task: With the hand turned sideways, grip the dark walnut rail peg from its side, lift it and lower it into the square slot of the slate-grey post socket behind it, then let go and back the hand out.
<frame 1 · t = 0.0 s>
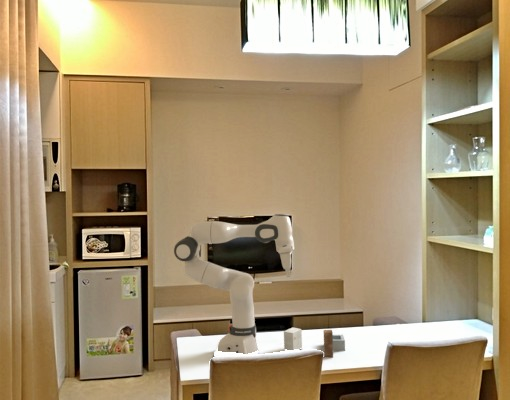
hand: (288, 274, 225), 39 cm above the table, tool pointing down, fingers open, 8 cm apart
rail peg: (328, 356, 222), on the table
post socket: (335, 347, 233), on the table
small box: (293, 351, 230), on the table
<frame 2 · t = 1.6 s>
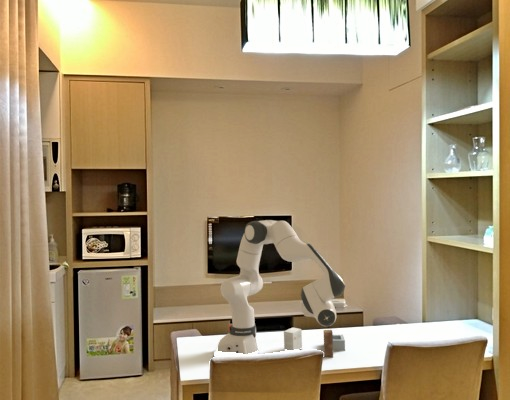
hand: (321, 301, 212), 29 cm above the table, tool horizontal, fingers open, 8 cm apart
nothing on the table moved.
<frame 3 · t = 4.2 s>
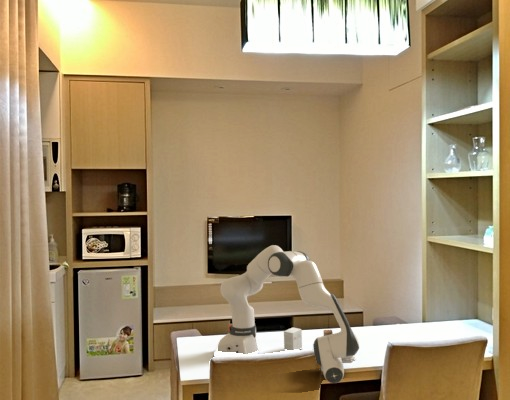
hand: (329, 349, 212), 6 cm above the table, tool horizontal, fingers open, 8 cm apart
nothing on the table moved.
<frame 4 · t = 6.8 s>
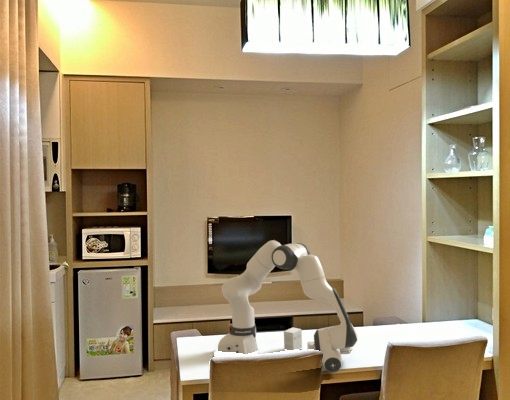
hand: (328, 341, 222), 7 cm above the table, tool horizontal, fingers closed on rail peg, 4 cm apart
rail peg: (328, 355, 222), on the table, touching gripper
everything else where it was.
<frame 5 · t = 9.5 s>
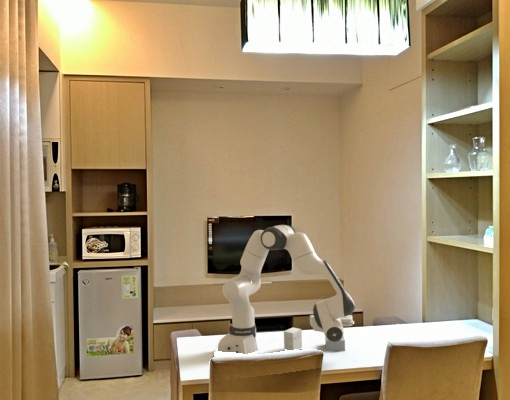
hand: (330, 315, 227), 18 cm above the table, tool horizontal, fingers closed on rail peg, 4 cm apart
rail peg: (330, 329, 226), point 11 cm above the table, touching gripper
everything else where it was.
when the fingers open (9 cm above the table, at t = 12.7 s): rail peg drops 1 cm, resting on post socket.
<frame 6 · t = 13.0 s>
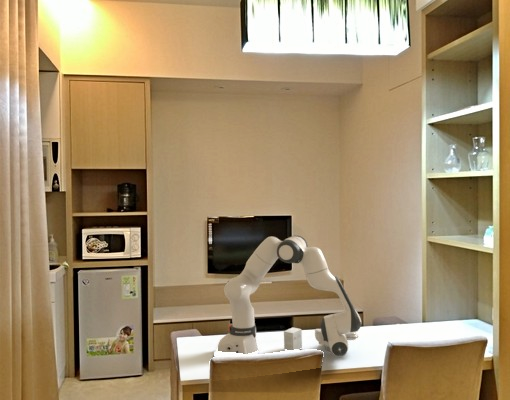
hand: (334, 329, 234), 9 cm above the table, tool horizontal, fingers open, 7 cm apart
rail peg: (335, 345, 233), point 1 cm above the table, touching post socket
everything else where it was.
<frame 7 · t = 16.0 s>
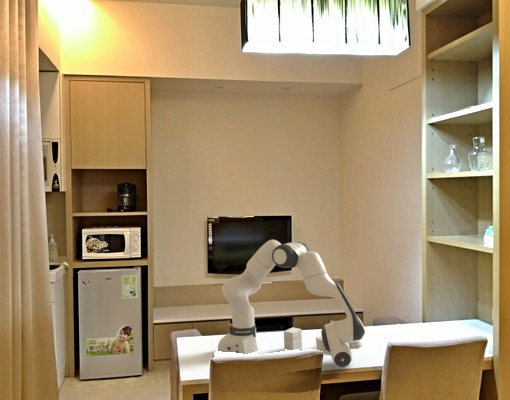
hand: (336, 337, 221), 9 cm above the table, tool horizontal, fingers open, 8 cm apart
nothing on the table moved.
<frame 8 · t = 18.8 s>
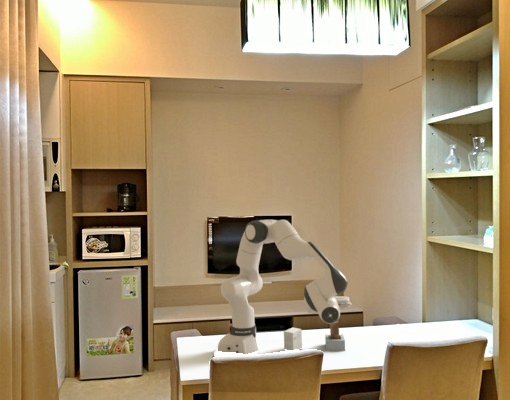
hand: (325, 297, 213), 30 cm above the table, tool horizontal, fingers open, 8 cm apart
nothing on the table moved.
at the end: rail peg 0.0 cm off-centre on the post socket, point 1.0 cm above the post socket's base; rail peg tilted 0°; the gripper is holding nothing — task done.
